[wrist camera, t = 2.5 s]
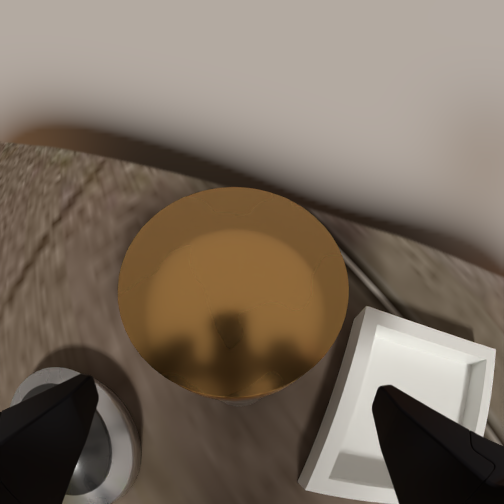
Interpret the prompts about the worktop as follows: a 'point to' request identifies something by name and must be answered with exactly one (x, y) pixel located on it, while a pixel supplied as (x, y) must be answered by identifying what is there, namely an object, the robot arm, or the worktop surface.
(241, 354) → the pin
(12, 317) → the worktop surface
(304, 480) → the tray
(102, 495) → the disc
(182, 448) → the worktop surface
